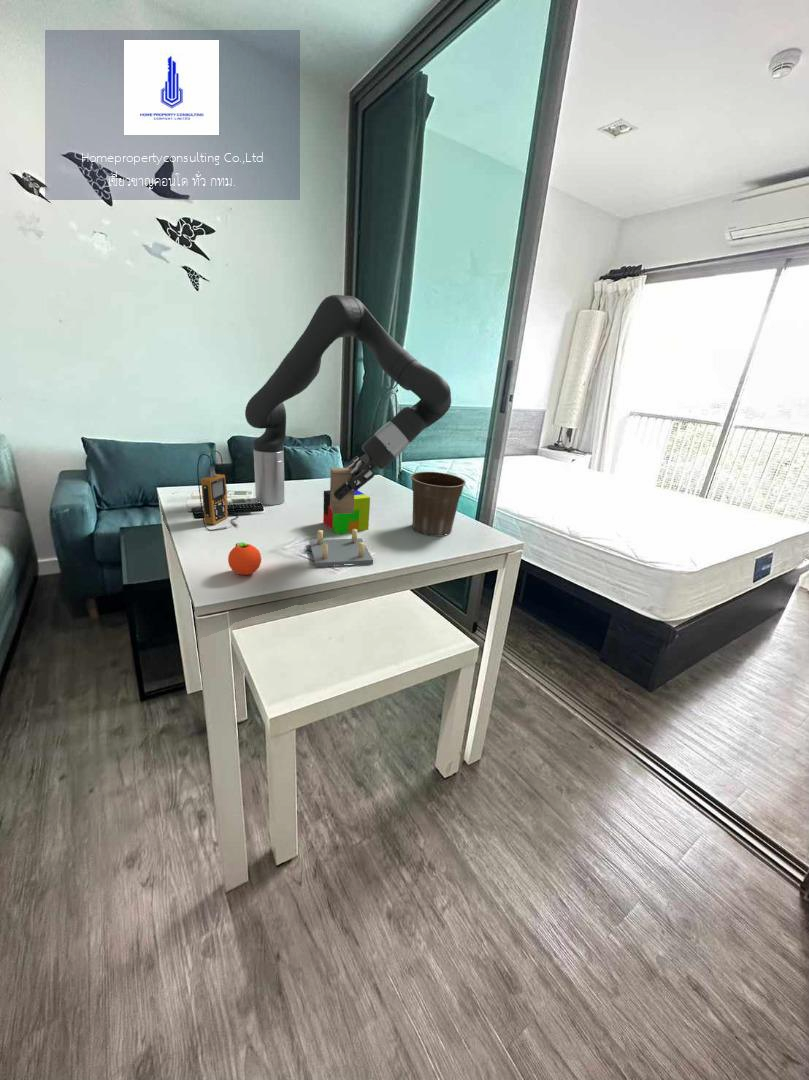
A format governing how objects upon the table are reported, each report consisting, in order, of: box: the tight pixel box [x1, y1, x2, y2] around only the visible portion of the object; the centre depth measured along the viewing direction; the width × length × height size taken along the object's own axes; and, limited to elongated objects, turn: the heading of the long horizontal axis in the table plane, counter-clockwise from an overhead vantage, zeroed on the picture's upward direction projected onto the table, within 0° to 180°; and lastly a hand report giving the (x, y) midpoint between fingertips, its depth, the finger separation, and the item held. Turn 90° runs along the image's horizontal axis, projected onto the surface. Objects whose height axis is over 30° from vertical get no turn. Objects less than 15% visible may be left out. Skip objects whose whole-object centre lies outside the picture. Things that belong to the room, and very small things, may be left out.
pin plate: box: [308, 529, 374, 568], centre depth 111 cm, size 14×14×5 cm
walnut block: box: [329, 467, 355, 514], centre depth 105 cm, size 5×5×10 cm
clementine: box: [227, 542, 262, 576], centre depth 97 cm, size 8×7×7 cm
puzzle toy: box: [322, 489, 371, 535], centre depth 129 cm, size 10×10×10 cm
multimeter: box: [196, 450, 240, 531], centre depth 121 cm, size 15×10×20 cm
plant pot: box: [410, 471, 467, 536], centre depth 131 cm, size 16×16×16 cm
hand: (334, 494), depth 105 cm, fingers closed on walnut block, 5 cm apart
